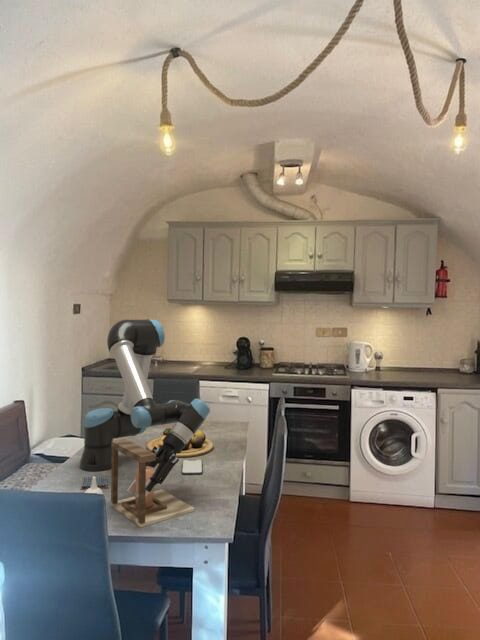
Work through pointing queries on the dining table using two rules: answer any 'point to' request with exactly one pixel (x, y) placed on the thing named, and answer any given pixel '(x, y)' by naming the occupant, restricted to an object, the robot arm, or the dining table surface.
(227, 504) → the dining table surface
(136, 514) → the wooden c-frame stand
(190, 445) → the wooden plate with food
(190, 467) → the phone case
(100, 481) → the woven mat
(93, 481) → the garlic bulb
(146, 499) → the tan cylinder
